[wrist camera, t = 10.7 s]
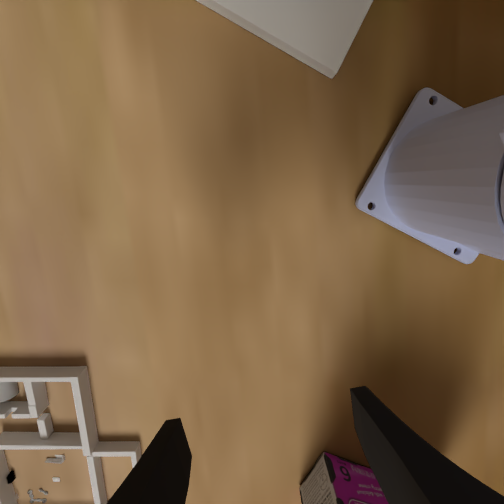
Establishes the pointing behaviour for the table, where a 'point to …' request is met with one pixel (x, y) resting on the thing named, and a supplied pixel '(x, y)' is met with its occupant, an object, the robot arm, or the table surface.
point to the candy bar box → (340, 483)
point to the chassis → (300, 26)
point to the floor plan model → (5, 387)
